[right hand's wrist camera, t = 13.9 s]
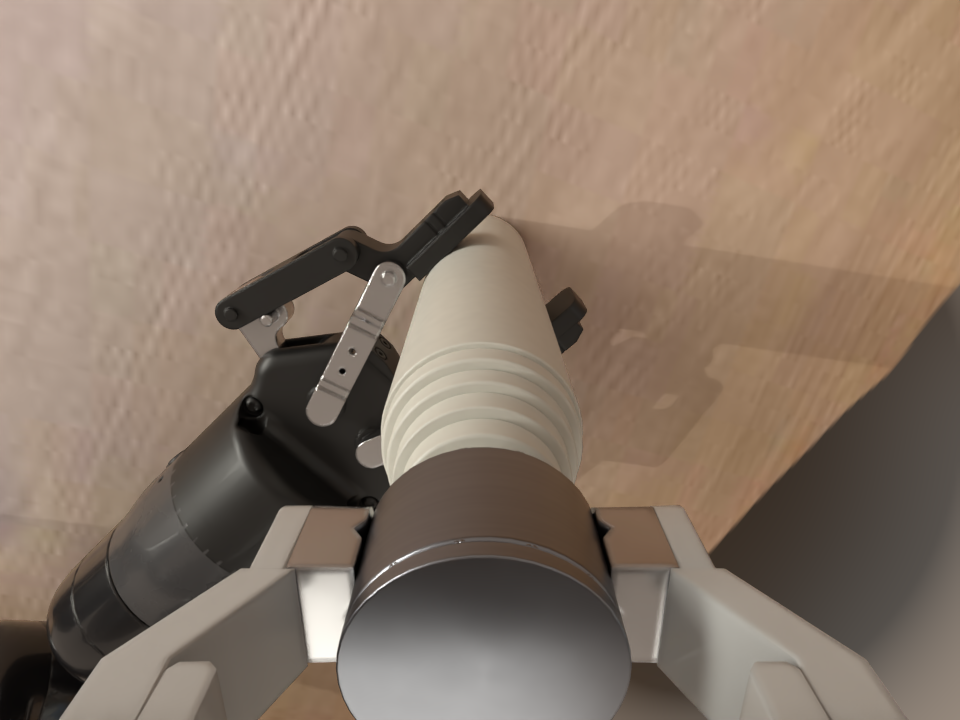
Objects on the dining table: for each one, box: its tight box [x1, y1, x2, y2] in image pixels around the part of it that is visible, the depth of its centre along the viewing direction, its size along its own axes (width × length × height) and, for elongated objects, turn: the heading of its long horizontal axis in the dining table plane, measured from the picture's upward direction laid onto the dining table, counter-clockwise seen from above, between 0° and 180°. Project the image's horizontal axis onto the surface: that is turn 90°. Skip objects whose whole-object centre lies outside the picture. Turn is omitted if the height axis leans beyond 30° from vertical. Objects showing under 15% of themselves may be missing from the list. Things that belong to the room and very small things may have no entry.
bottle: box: [381, 215, 583, 486], centre depth 19 cm, size 4×4×23 cm
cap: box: [336, 447, 632, 720], centre depth 9 cm, size 4×4×3 cm
